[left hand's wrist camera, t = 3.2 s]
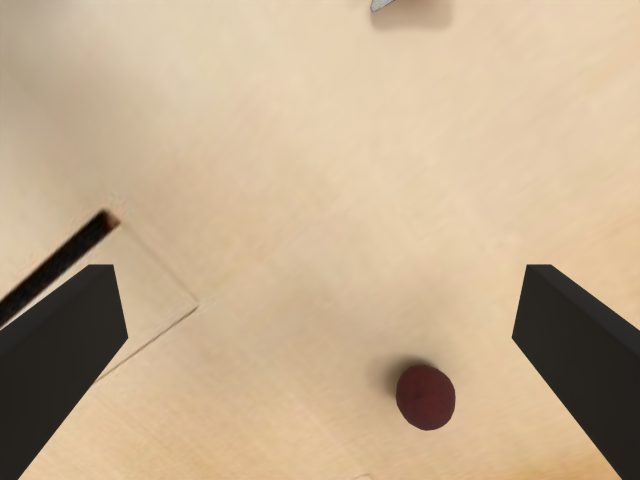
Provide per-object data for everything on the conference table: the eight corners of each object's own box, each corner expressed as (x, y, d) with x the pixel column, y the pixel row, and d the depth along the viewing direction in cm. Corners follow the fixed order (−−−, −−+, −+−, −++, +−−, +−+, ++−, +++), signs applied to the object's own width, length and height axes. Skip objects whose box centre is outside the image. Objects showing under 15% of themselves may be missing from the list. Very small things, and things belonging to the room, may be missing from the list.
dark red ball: (409, 408, 54) (422, 451, 48) (380, 370, 52) (388, 411, 45) (456, 383, 53) (476, 425, 46) (428, 344, 50) (444, 382, 44)
